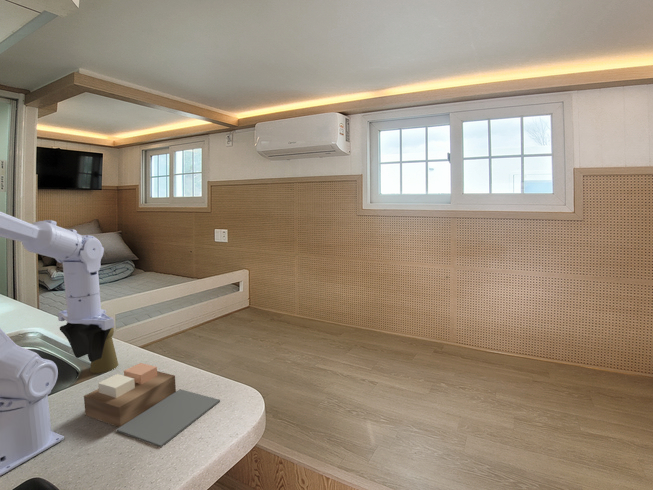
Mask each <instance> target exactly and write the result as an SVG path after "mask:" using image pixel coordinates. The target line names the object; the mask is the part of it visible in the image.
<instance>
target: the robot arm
mask: <svg viewBox="0 0 653 490" xmlns="http://www.w3.org/2000/svg"><path fill="white" fill-rule="evenodd" d="M57 224H58V223H57V221H55V220H52V219H44V220H38V221H35V222H32V223H30V222H28V221H25V220H23V219H20V218H17V217H16V216H12V215H10V214H7V213H5V212H3V211H0V238H4V239H8V240H11V241H12V240H13V241H17V242H21V244H22V247H23V248H24V249H25V250H26V251H28V252H30V253H34V254H38V255H41V256H46V257H49V258H53V259H55V261H56V262H57V263H59V264H62V269H63V283H64V291H65V301H66V309H64V310H61V311H57V319H58V321H59V322H65V321H66V323H65V325H64V324H63V325H61V326H59V331H60V332H61V333H62V334H63V335H64V336H65V338H66V339H67V341H68V343H69V345H70V348H71V350H72V352H73V355H74V357H75V358H76V359H79V358H81V357H85V356H86V355H87V358H88V360H89V362H90V363H91V362H93V361H95V360H98V359H100V358H102V353H103V349H104V344H105V341H106V338H107V336H108V334H109V332H110V330H111V328H113V329H114V328H115V318H114V317H111V316H109V315H108V314H107V309H102V303H101V302H102V301H101V289H100V278H99V271H100V270H101V267H102V265H101V261H102V258H103V256H104V252H105V247H103V245H102V243H101V240H99V239H98V238H97V237H96V236H94V235H92V234H90V235H89V234H87V235H85V234H80V233H78V231H77V230H76V229H73V228H64V227H61V226H58V225H57ZM58 375H59V372H58V366H57V364H56V363H55V362H54V361H53V360H51V359H47V358H42V357H41V356H40V354H39V353H38V352H35V351H33V350H30V349H28V348H25V347H22V346H20V345H17V344H16V343H15V342H14V341H13V339H11V337H10V336H8V334H7V333H6V332H5V331H4V330H3V329H2V328H1V327H0V477H1V476H3V475H4V474H6V473H8V472H10V471H11V470H13V469H15V468H17V467H18V466H20V465H21V464H23V463H25V462H27V461H29V460H30V459H32V458H34V457H35V456H38V455H40V453H42V452H44V451H46V450H47V449H50V448H51V447H53V446H55V445H57V444H58V443H60V442H62V441H63V440H64V439H65V436H64V435H62V434H60V433H57V432H55V431H53V430H52V425H51V424H52V423H51V414H50V404H49V395H50V394H51V393H52V390H53V388H54V387H55V385H56V383H57V380H58Z"/></svg>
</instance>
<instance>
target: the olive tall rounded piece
mask: <svg viewBox="0 0 653 490" xmlns="http://www.w3.org/2000/svg"><path fill="white" fill-rule="evenodd" d="M114 332H115V328H114V327H113V328H111V330H110V332H109V334H108V336H107V338H106V341H105V344H104V349H103V353H102V358H100V359H98V360H95V361H93V362H91V361H90V373H92V374H104V373H107V372H111V371H113V370H115V369H117V368H118V367H117V366H119V362H118V357H117V353H116V347H115V346H114V341H113V336H114ZM116 367H117V368H116ZM114 368H115V369H114ZM112 369H113V370H112Z"/></svg>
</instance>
